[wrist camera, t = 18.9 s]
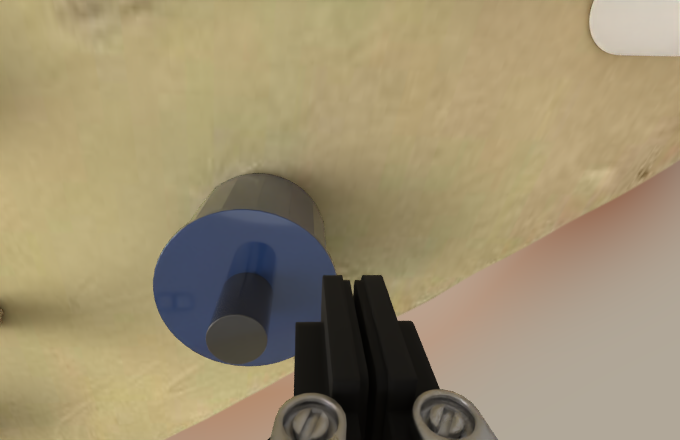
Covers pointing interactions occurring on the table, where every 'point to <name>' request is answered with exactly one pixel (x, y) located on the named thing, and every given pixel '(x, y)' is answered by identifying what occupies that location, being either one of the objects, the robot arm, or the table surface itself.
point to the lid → (241, 284)
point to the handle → (0, 313)
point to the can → (636, 27)
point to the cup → (266, 199)
